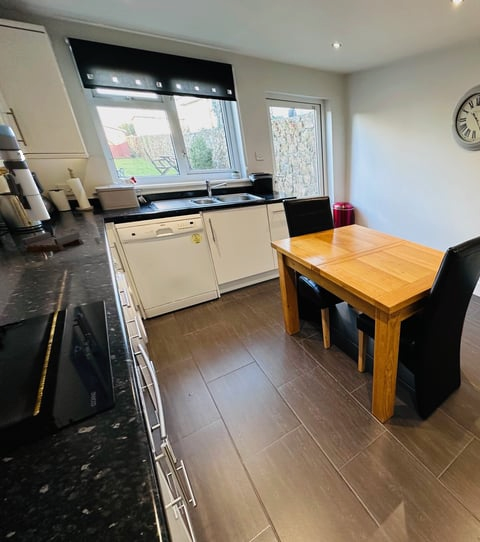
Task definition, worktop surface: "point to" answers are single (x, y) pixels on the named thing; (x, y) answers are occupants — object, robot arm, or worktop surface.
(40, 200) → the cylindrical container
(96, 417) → the worktop surface
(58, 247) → the rack
